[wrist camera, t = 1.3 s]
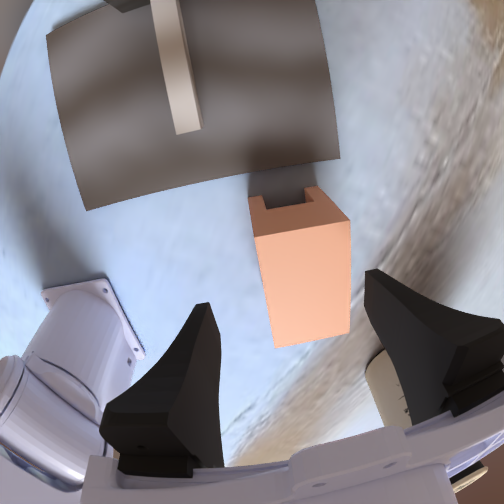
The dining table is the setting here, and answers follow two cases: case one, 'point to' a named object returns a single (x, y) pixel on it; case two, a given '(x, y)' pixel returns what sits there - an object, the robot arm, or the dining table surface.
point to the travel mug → (405, 410)
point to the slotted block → (304, 267)
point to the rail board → (190, 93)
